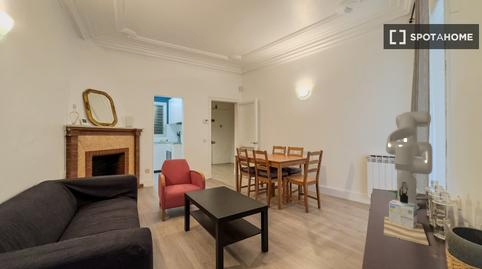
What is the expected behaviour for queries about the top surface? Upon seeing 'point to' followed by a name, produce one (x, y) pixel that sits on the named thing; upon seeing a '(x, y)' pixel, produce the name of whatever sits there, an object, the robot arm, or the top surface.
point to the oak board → (405, 232)
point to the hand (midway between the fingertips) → (403, 199)
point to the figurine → (395, 192)
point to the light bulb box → (403, 213)
